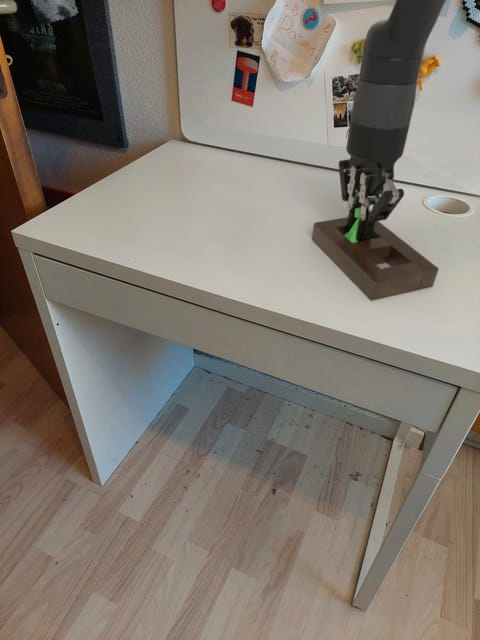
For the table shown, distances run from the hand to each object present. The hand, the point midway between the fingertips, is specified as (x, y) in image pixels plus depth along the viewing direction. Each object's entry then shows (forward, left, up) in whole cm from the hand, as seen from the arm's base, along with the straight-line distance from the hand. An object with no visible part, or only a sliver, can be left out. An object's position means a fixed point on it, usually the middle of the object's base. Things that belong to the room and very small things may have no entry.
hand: (357, 236), depth 69 cm
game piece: (0, 0, -1) cm, 1 cm away
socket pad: (0, +4, -2) cm, 4 cm away
